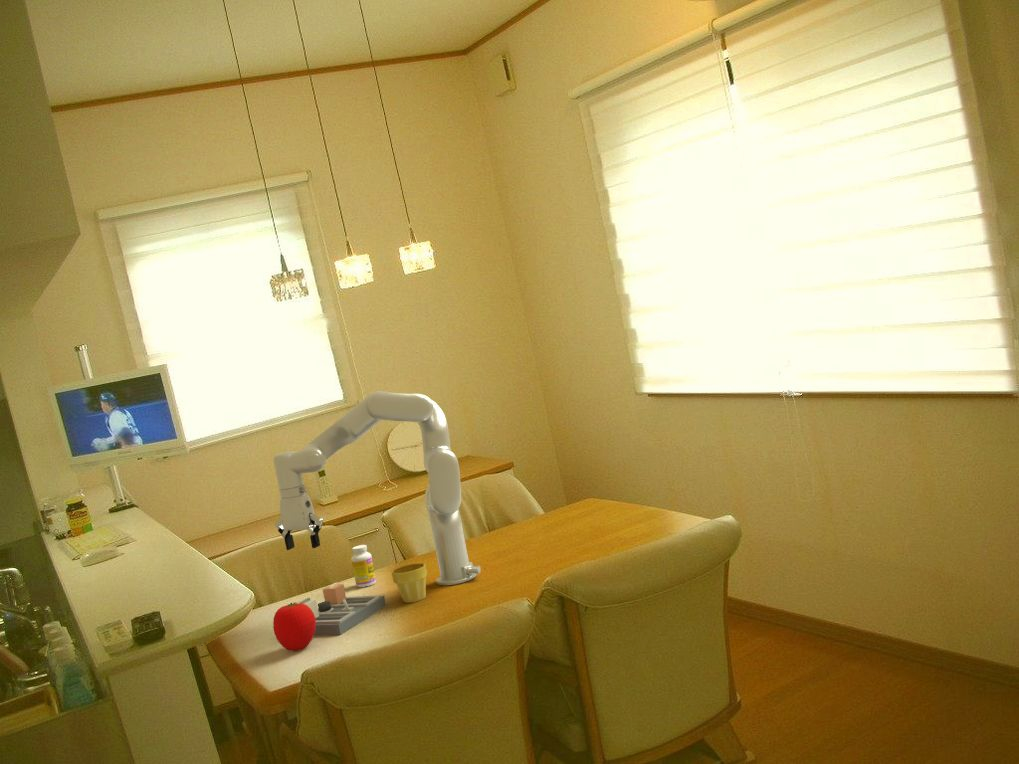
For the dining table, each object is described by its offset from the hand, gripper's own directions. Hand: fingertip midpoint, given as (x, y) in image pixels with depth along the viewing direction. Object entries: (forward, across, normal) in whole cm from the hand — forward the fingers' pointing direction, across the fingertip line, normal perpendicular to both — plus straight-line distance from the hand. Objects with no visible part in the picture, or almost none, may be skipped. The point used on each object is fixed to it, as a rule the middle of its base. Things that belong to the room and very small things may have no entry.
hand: (303, 547), depth 307 cm
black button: (+17, -9, +7) cm, 21 cm away
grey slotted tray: (+20, -13, +7) cm, 26 cm away
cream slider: (+17, -8, +14) cm, 24 cm away
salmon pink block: (+17, -8, 0) cm, 19 cm away
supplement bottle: (+21, 0, -28) cm, 35 cm away
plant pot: (+21, -29, -10) cm, 37 cm away
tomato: (+21, -16, +29) cm, 39 cm away
